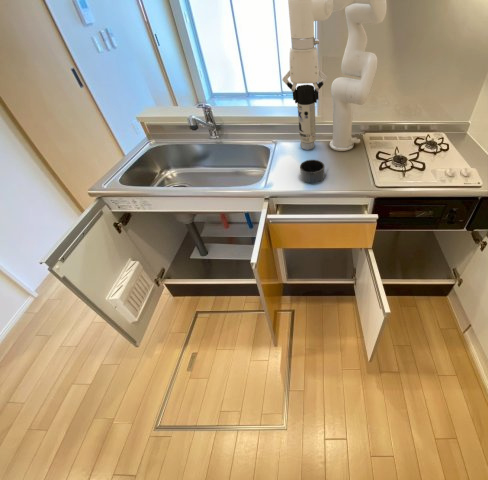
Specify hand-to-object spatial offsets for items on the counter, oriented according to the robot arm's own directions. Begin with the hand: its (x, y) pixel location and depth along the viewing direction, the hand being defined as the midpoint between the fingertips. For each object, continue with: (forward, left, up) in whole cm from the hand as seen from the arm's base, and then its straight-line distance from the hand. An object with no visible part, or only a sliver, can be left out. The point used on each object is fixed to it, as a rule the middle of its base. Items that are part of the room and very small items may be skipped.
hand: (306, 101), depth 100 cm
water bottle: (+2, -26, -31) cm, 41 cm away
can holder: (-1, +3, -31) cm, 31 cm away
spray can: (0, 0, -15) cm, 15 cm away
